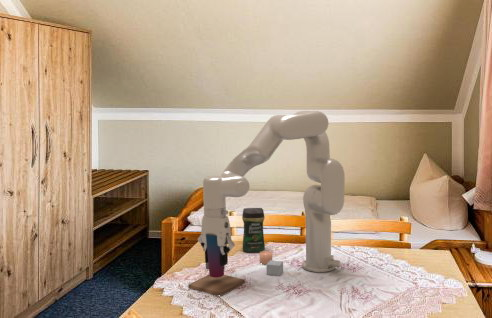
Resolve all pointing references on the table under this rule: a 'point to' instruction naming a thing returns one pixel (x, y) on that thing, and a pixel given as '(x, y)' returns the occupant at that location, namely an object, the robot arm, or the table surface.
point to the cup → (214, 257)
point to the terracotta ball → (265, 257)
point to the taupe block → (208, 266)
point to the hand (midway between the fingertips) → (216, 262)
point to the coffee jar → (253, 230)
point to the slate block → (274, 268)
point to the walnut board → (216, 284)
